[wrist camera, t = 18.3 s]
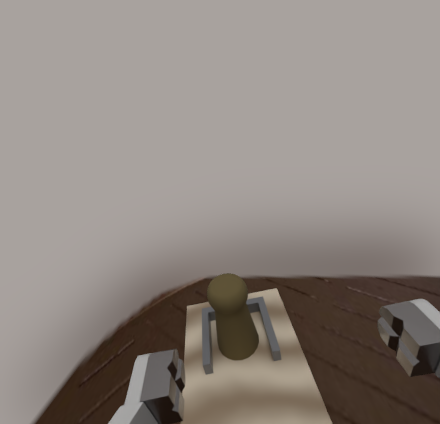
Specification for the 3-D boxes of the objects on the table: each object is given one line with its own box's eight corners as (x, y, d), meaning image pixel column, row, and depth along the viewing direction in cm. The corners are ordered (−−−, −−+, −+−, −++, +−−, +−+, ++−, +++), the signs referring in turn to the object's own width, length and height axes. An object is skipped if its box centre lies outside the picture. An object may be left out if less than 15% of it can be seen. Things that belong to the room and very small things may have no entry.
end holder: (281, 359, 31) (280, 350, 30) (205, 374, 31) (202, 365, 30) (264, 305, 39) (262, 296, 38) (204, 317, 39) (201, 308, 38)
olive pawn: (213, 357, 32) (194, 300, 28) (222, 319, 38) (208, 266, 33) (256, 363, 31) (245, 303, 26) (260, 322, 36) (251, 266, 31)
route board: (336, 438, 24) (336, 434, 23) (181, 469, 24) (178, 464, 24) (277, 292, 42) (276, 288, 41) (188, 310, 42) (187, 306, 41)
